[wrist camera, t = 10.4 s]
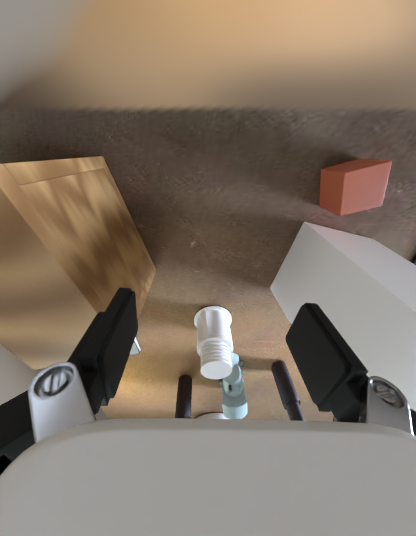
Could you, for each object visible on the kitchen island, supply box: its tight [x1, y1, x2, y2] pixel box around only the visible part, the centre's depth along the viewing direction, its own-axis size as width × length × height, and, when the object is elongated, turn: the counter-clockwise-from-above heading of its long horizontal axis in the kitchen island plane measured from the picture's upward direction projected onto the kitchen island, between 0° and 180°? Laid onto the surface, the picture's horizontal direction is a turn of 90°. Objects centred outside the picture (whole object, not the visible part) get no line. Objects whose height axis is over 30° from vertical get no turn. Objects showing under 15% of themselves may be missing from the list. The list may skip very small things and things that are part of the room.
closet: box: [0, 156, 156, 370], centre depth 21 cm, size 16×12×14 cm
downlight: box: [194, 306, 233, 379], centre depth 32 cm, size 8×7×10 cm
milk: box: [270, 222, 416, 411], centre depth 20 cm, size 12×12×26 cm
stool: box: [175, 352, 305, 421], centre depth 37 cm, size 16×21×33 cm
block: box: [319, 159, 392, 216], centre depth 23 cm, size 5×5×5 cm
